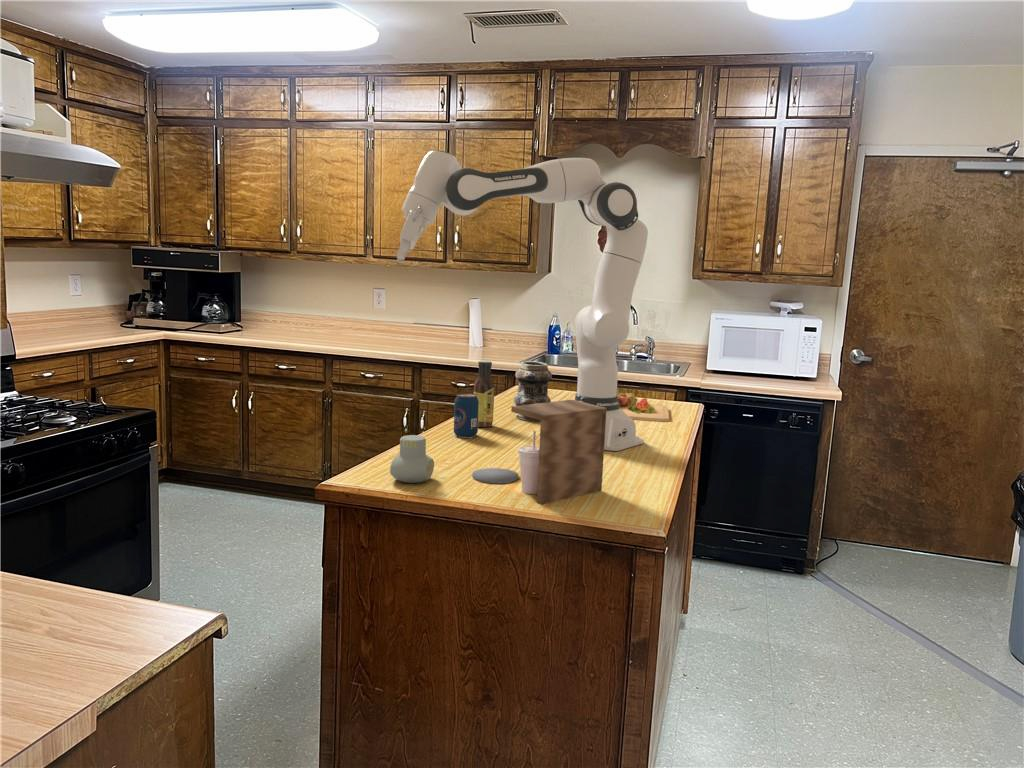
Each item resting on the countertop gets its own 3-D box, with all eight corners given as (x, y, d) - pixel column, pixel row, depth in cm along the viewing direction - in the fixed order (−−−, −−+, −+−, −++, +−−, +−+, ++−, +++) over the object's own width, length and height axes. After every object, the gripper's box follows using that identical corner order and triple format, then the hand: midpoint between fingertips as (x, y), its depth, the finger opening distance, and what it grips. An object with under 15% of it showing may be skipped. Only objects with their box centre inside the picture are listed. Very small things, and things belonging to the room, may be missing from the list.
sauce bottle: (490, 429, 236) (492, 363, 233) (470, 427, 237) (472, 362, 234) (495, 424, 242) (497, 360, 239) (475, 422, 244) (477, 359, 240)
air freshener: (422, 488, 175) (423, 444, 173) (387, 485, 176) (387, 441, 175) (435, 475, 186) (437, 434, 184) (402, 472, 187) (403, 431, 185)
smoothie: (524, 496, 172) (527, 434, 169) (511, 488, 177) (513, 428, 175) (549, 493, 175) (553, 432, 172) (535, 485, 180) (538, 426, 178)
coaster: (499, 468, 194) (499, 465, 194) (528, 479, 185) (528, 476, 185) (463, 474, 187) (463, 472, 187) (490, 486, 178) (490, 483, 178)
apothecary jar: (557, 420, 253) (560, 364, 250) (527, 423, 246) (529, 366, 243) (535, 412, 263) (538, 359, 260) (505, 415, 256) (507, 361, 253)
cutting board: (667, 410, 279) (668, 389, 278) (669, 424, 257) (670, 401, 255) (569, 403, 285) (570, 383, 284) (562, 416, 262) (563, 394, 261)
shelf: (568, 478, 187) (572, 399, 184) (601, 490, 178) (606, 408, 175) (508, 490, 176) (511, 406, 173) (540, 504, 167) (544, 415, 164)
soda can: (448, 434, 226) (449, 394, 224) (466, 431, 231) (467, 391, 229) (464, 439, 222) (465, 397, 220) (482, 436, 226) (484, 395, 224)
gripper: (432, 209, 192) (411, 261, 192) (429, 221, 212) (410, 268, 212) (408, 198, 191) (387, 250, 191) (408, 211, 211) (388, 259, 211)
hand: (399, 260), depth 202 cm, fingers open, 8 cm apart
